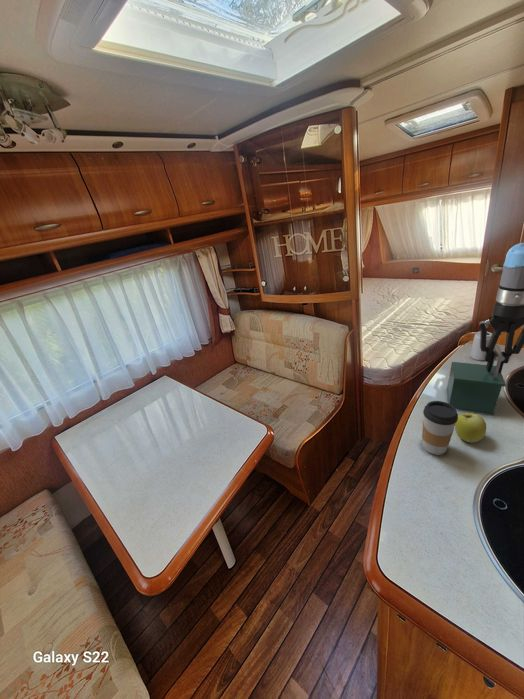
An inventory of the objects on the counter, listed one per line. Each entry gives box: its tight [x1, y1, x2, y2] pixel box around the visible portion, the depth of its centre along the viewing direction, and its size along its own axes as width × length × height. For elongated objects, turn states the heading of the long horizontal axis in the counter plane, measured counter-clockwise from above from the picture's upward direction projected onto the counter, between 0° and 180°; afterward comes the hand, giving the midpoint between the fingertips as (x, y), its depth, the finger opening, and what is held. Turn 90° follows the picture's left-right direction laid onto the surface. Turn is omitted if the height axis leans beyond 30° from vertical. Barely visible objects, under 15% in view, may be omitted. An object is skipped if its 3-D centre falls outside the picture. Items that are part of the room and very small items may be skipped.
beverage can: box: [469, 330, 493, 361], centre depth 119 cm, size 6×6×12 cm
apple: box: [454, 412, 487, 443], centre depth 83 cm, size 8×8×10 cm
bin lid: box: [451, 344, 507, 387], centre depth 91 cm, size 13×12×10 cm
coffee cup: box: [421, 400, 459, 456], centre depth 80 cm, size 8×8×15 cm
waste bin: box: [446, 363, 503, 416], centre depth 96 cm, size 13×12×12 cm
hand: (493, 370), depth 90 cm, fingers closed on bin lid, 2 cm apart
